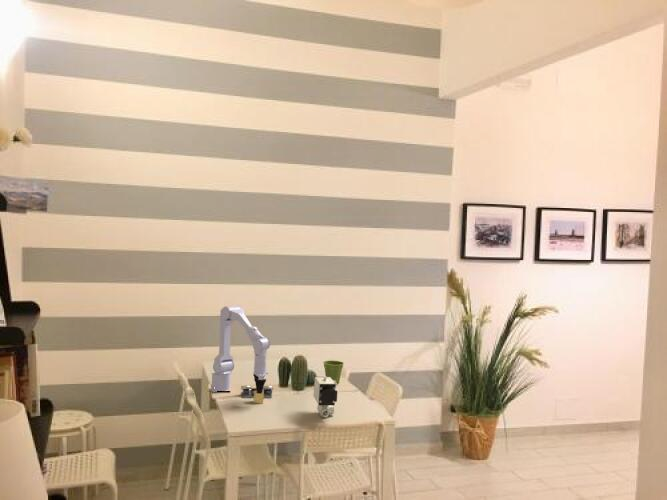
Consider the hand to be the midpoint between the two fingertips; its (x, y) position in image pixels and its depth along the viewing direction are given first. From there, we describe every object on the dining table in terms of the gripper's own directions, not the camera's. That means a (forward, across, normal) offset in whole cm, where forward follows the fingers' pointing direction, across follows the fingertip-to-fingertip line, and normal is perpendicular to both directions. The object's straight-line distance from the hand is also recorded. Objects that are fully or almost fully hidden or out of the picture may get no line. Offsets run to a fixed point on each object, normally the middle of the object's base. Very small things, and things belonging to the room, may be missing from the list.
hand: (258, 391), depth 291 cm
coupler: (+5, 0, 0) cm, 5 cm away
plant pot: (+6, +37, -43) cm, 57 cm away
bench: (+5, +12, 0) cm, 13 cm away
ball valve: (+6, -20, -29) cm, 36 cm away
